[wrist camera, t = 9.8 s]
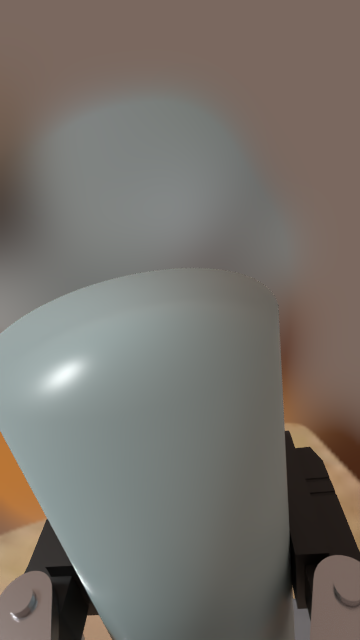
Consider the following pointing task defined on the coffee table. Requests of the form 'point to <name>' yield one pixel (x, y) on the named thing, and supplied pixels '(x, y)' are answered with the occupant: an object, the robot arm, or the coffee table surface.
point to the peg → (160, 449)
